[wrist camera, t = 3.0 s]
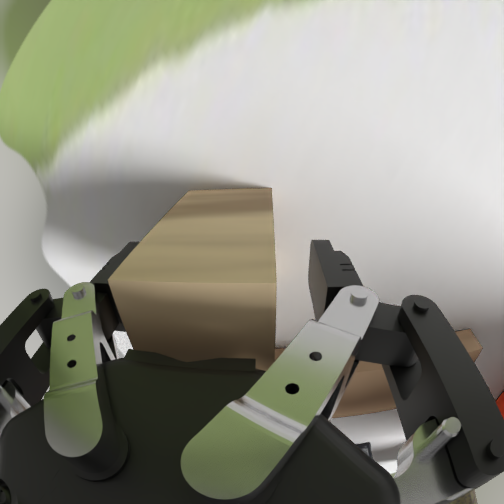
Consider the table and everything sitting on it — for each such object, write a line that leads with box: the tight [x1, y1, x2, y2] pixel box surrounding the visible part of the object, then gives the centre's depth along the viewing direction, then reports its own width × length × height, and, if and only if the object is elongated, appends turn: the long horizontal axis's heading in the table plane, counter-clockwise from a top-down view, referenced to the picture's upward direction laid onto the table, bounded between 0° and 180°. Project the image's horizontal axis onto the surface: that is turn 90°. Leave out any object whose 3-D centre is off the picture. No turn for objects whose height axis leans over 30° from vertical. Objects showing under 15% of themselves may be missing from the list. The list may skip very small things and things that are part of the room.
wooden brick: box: [108, 188, 276, 371], centre depth 12 cm, size 11×4×8 cm, turn 2°
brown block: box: [275, 329, 483, 418], centre depth 18 cm, size 6×17×2 cm, turn 92°
